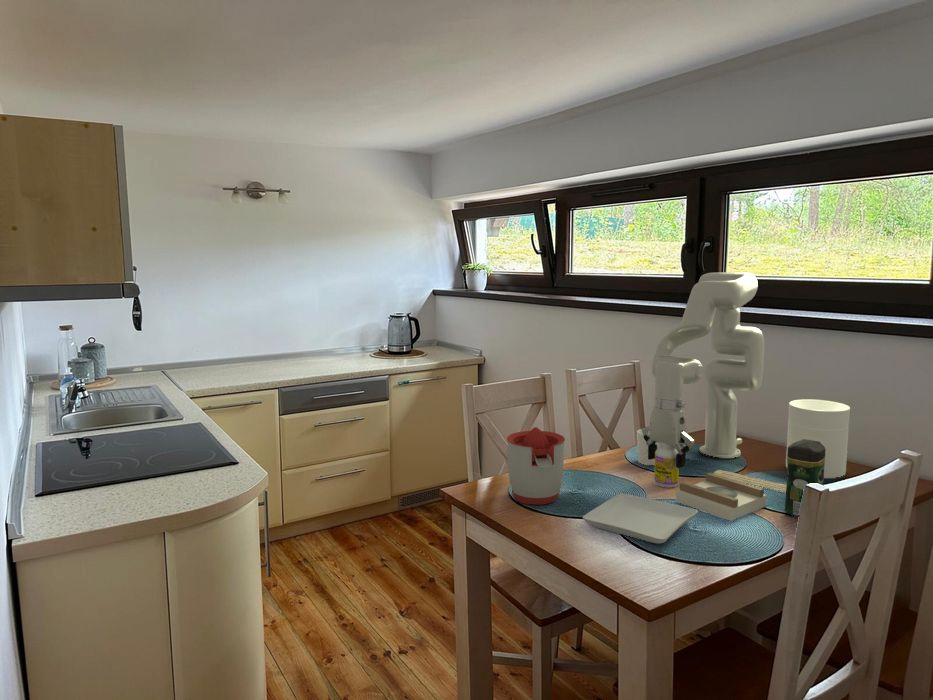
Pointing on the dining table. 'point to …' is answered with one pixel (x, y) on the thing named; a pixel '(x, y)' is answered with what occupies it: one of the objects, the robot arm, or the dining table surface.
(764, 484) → the wooden plank
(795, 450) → the coffee jar
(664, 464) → the supplement bottle
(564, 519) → the dining table surface
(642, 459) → the white cup
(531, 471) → the citrus juicer
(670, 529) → the salad plate
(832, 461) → the canister
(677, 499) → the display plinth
